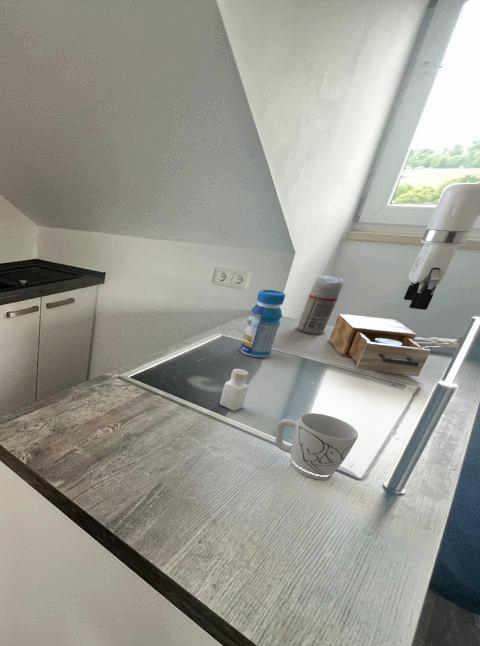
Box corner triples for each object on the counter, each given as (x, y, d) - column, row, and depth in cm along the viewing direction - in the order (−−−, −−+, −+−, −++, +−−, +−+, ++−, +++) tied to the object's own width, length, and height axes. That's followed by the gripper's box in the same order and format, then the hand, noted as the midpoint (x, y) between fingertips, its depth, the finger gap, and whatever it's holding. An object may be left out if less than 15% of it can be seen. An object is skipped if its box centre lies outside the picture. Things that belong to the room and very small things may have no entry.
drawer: (426, 383, 103) (439, 357, 100) (362, 374, 109) (373, 348, 105) (397, 358, 118) (408, 334, 115) (343, 351, 123) (352, 328, 120)
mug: (259, 458, 77) (274, 416, 73) (276, 442, 82) (291, 402, 78) (329, 491, 69) (350, 445, 65) (344, 471, 74) (364, 427, 69)
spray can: (323, 329, 144) (343, 276, 135) (325, 336, 138) (346, 280, 129) (295, 325, 148) (313, 273, 140) (296, 332, 142) (315, 277, 133)
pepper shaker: (243, 407, 95) (253, 372, 91) (233, 412, 93) (244, 376, 89) (227, 400, 98) (236, 366, 94) (218, 404, 96) (227, 370, 92)
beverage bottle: (263, 360, 119) (283, 297, 111) (234, 352, 125) (251, 291, 117) (274, 353, 124) (293, 292, 116) (245, 345, 130) (262, 287, 122)
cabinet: (402, 364, 117) (416, 334, 113) (341, 355, 122) (353, 327, 118) (383, 347, 129) (395, 319, 125) (329, 340, 134) (339, 313, 130)
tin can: (388, 358, 116) (397, 339, 113) (396, 365, 111) (405, 346, 109) (364, 354, 118) (372, 336, 115) (371, 362, 113) (379, 343, 111)
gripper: (417, 233, 104) (391, 295, 111) (430, 240, 92) (399, 309, 99) (457, 235, 100) (427, 299, 107) (476, 242, 88) (441, 315, 95)
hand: (414, 304), depth 103 cm, fingers open, 9 cm apart
